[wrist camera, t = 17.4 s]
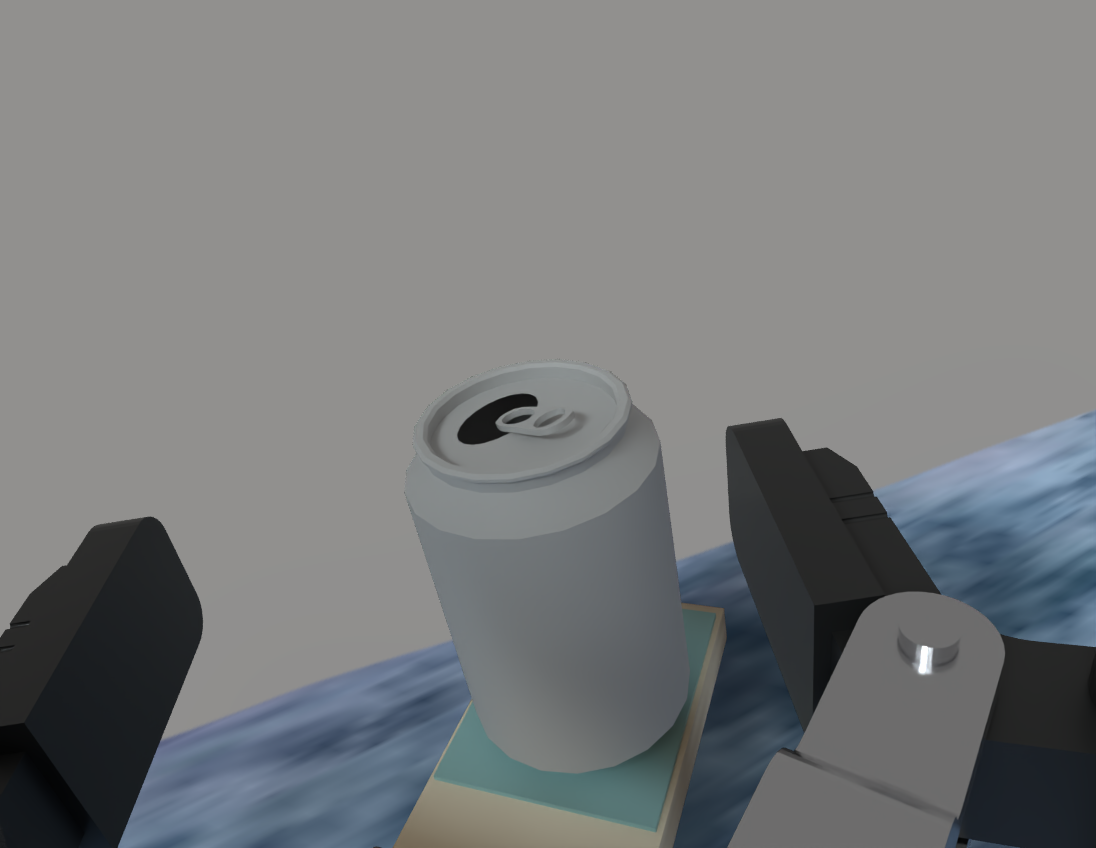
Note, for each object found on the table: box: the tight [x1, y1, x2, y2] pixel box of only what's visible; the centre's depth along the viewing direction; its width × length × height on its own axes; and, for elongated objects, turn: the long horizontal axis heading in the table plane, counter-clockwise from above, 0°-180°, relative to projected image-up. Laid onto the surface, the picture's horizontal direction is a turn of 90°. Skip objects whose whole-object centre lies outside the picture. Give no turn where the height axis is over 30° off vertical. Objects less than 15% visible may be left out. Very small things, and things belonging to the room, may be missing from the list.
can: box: [404, 359, 690, 774], centre depth 27 cm, size 8×8×12 cm
